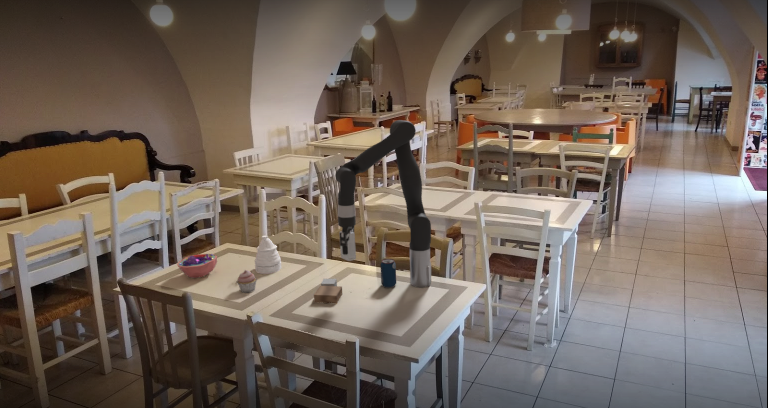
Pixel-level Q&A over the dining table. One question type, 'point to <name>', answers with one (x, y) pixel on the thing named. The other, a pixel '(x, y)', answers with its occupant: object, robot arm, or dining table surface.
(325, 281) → the grey block
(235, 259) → the dining table surface
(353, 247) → the skincare box
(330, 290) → the walnut block
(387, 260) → the soda can
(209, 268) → the cell model
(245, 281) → the cupcake
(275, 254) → the honey pot
